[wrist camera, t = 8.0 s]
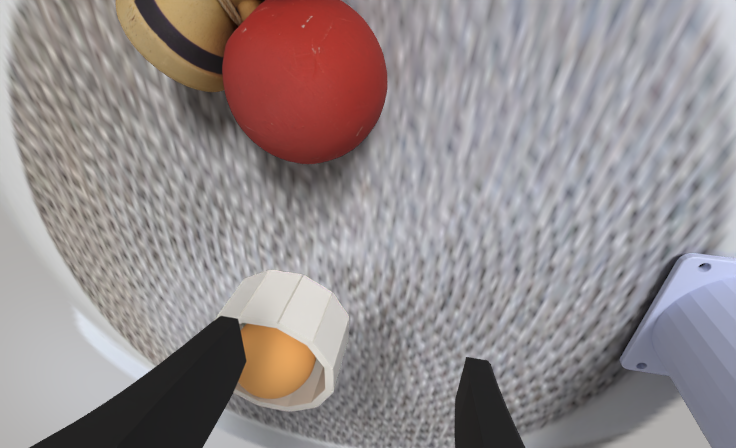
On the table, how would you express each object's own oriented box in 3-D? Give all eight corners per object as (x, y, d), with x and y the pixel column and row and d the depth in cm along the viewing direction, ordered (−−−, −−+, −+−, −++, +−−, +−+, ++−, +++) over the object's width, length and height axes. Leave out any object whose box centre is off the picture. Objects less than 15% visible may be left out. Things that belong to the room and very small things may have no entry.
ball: (324, 300, 23) (299, 367, 19) (326, 354, 26) (304, 423, 22) (248, 289, 24) (207, 352, 20) (257, 343, 26) (223, 409, 22)
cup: (349, 281, 23) (332, 331, 19) (348, 367, 27) (334, 420, 23) (225, 263, 24) (189, 307, 20) (243, 348, 28) (215, 397, 24)
